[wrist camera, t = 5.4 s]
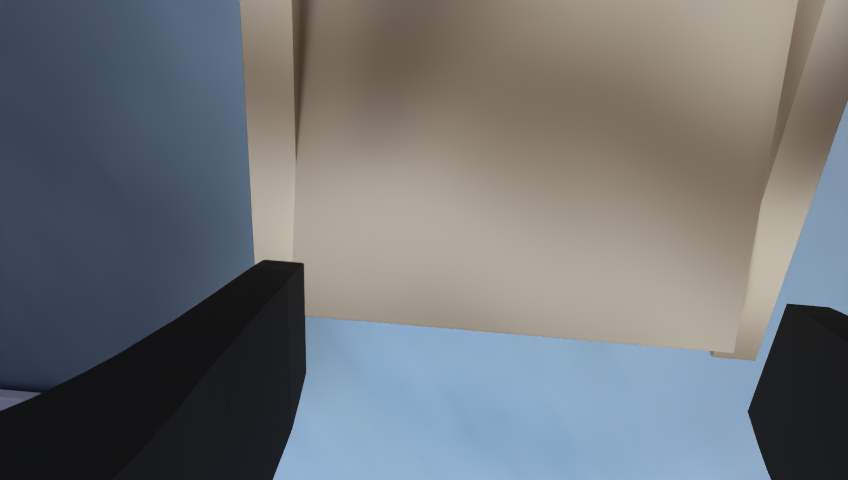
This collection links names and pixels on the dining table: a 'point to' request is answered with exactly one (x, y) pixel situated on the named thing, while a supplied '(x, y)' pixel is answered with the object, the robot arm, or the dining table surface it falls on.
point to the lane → (543, 160)
